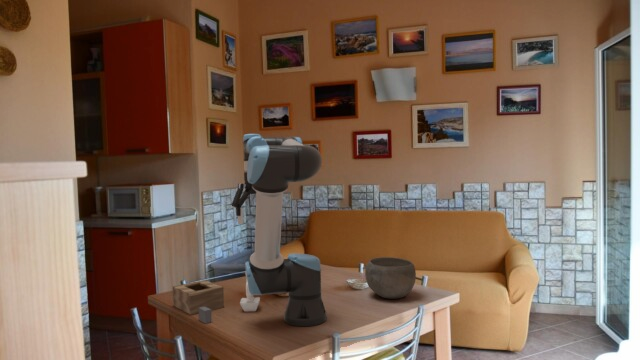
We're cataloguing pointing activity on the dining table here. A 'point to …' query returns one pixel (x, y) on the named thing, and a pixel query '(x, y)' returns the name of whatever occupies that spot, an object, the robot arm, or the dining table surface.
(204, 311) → the stand
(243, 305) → the figurine
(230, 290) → the dining table surface
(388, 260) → the bowl
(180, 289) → the brown wooden box
